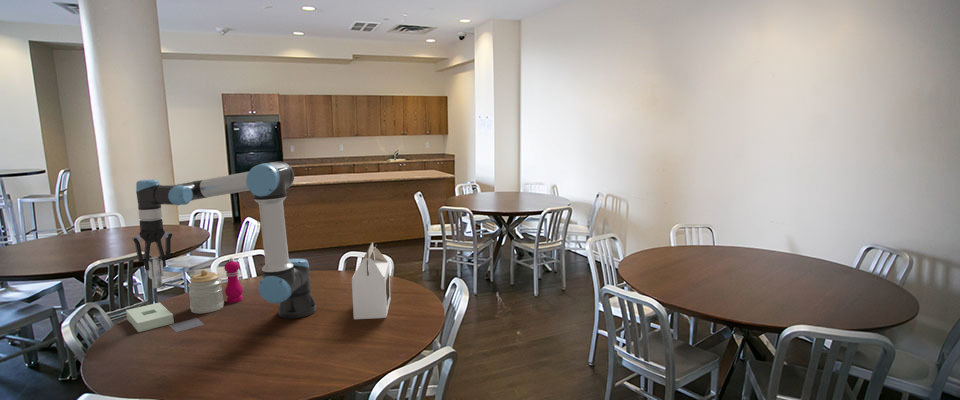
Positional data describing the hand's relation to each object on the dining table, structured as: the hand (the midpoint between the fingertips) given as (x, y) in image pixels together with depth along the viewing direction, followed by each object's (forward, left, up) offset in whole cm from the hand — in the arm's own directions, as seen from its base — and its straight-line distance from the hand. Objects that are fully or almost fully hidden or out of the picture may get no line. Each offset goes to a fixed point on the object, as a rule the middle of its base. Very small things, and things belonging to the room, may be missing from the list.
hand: (156, 276), depth 196 cm
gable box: (-51, -67, -20) cm, 86 cm away
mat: (-11, -6, -20) cm, 23 cm away
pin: (0, 0, -4) cm, 4 cm away
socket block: (+5, +3, -20) cm, 21 cm away
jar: (+3, -18, -20) cm, 27 cm away
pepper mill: (+5, -30, -20) cm, 37 cm away
